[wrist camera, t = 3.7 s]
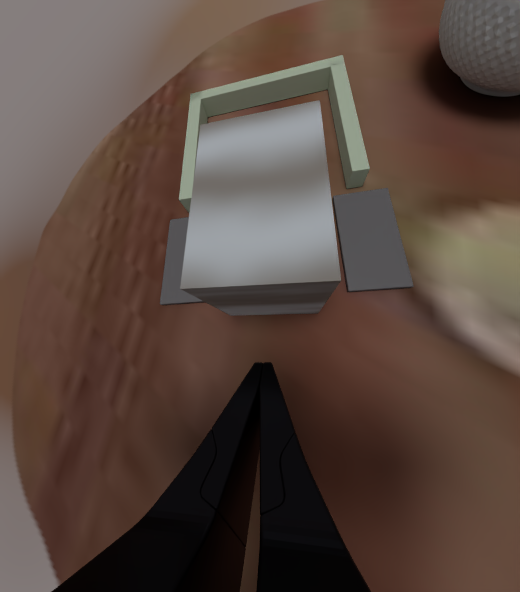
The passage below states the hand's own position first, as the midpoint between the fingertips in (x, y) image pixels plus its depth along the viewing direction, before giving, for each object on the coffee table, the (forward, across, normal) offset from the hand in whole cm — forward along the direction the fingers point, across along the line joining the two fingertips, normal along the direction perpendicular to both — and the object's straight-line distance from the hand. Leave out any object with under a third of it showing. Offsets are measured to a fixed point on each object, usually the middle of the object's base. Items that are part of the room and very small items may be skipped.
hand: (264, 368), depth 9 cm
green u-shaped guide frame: (+19, 0, -9) cm, 21 cm away
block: (+12, 0, -2) cm, 12 cm away
